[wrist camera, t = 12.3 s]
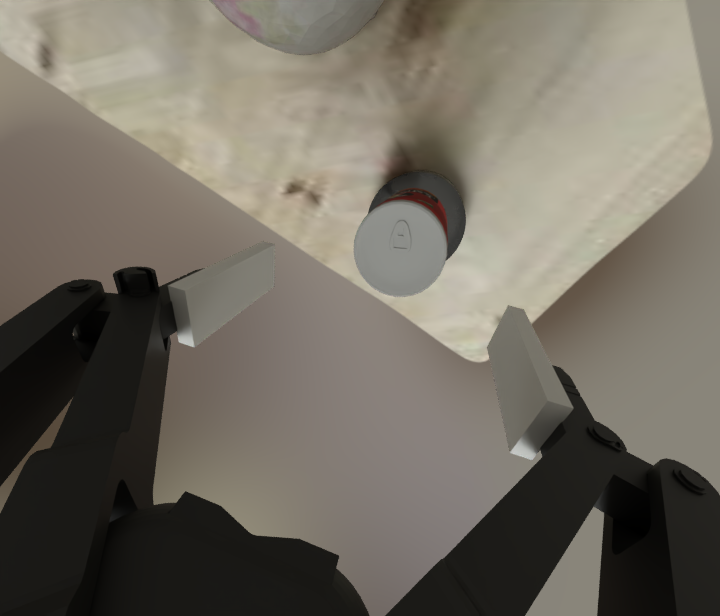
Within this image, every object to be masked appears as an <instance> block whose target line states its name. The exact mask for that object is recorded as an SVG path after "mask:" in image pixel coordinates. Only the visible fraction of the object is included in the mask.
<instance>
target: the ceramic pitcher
mask: <svg viewBox="0 0 720 616" xmlns="http://www.w3.org/2000/svg"><path fill="white" fill-rule="evenodd" d="M210 1H211V2H212V3H213V5H214V6H215V7H216V8H217V9H218V10H219V11H220V12H221V13H222V14H223V15H224V16H225V17H226V18H227V19H228V20H229V21H230V22H232V23H233V24H234V25H235V26H236V27H238V28H239V29H241V30H242V31H244V32H245V33H247V34H248V35H249V36H251V37H252V38H253V39H255V40H256V41H257V42H260V43H262V44H264V45H266V46H268V47H271V48H274V49H276V50H279V51H282V52H285V53H290V54H297V55H312V54H317V53H322V52H326V51H328V50H331V49H333V48H336V47H338V46H339V45H341V44H343V43H344V42H346V41H347V40H349V39H350V38H352V37H353V36H354V35H355V34H356V33H357V32H358V31H360V30H361V29H362V28H363V27H364V26H365V24H366V23H367V22H368V21H369V20H371V19H373V18H374V17H375V15H376V13H377V11H378V9H379V7H380V6H381V5H382V3H383V1H384V0H210Z"/></svg>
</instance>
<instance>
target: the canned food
mask: <svg viewBox="0 0 720 616" xmlns="http://www.w3.org/2000/svg"><path fill="white" fill-rule="evenodd" d="M447 248H448V232H447V217H446V213H445V210H444V207H443V205H442V204H441V202H440V201H439V200H438V199H437V197H436V196H435V195H433V194H432V193H430V192H429V191H426V190H423V189H419V188H407V189H404V190H401V191H399V192H397V193H395V194H394V195H392V196H391V197H389V198H388V199H386V200H385V201H383V202H382V203H381V204H379V205H378V206H377V207H375V208H374V209H373V210H372V211H371V212H370V213H368V214H367V216H366V217H365V218H364V220H363V221H362V223H361V224H360V226H359V228H358V230H357V233H356V237H355V240H354V257H355V261H356V265H357V268H358V270H359V272H360V274H361V275H362V277H363V278H364V279H365V281H366V282H367V283H368V284H369V285H370V286H371V287H373V288H374V289H376V290H377V291H379V292H381V293H383V294H386V295H390V296H394V297H406V296H412V295H415V294H418V293H420V292H422V291H424V290H425V289H427V288H428V287H429V286H430V285H432V284H433V283H434V282H435V280H436V279H437V278H438V276H439V275H440V273H441V271H442V269H443V267H444V265H445V261H446V257H447Z"/></svg>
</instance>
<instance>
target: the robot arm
mask: <svg viewBox="0 0 720 616" xmlns="http://www.w3.org/2000/svg"><path fill="white" fill-rule="evenodd" d="M274 269H275V245H274V244H272V243H268V242H264V241H262V242H260V243H258V244H256V245H254V246H252V247H249V248H247V249H245V250H243V251H241V252H239V253H237V254H234V255H232V256H230V257H228V258H226V259H224V260H222V261H219V262H217V263H215V264H213V265H211V266H209V267H207V268H204V269H199V270H195V271H193V272H191V273H188V274H187V275H184V276H182V277H180V279H175V280H173V281H171V282H169V283H167V284H165V285H162V286H160V287H159V286H158V282H157V277H156V273H155V270H153V269H151V268H148V267H128V268H124V269H121V270H118V271H116V272H115V273H114V274H113V277H114V280H115V284H116V287H117V290H118V294H115V293H105V292H104V289H103V286H102V284H101V282H99V281H96V280H84V279H80V280H73V281H71V282H68V283H64V284H62V285H60V286H58V287H57V288H55V289H54V290H52V291H51V292H50V293H48V294H46V295H45V296H44V297H42V298H41V299H39V300H38V301H36V302H35V303H33V304H32V305H30V306H29V307H27V308H26V309H25V310H23V311H22V312H20V313H19V314H17V315H16V316H14V317H13V318H12V319H10V320H8V321H7V322H6V323H4V324H3V325H1V326H0V486H1V485H2V484H3V483H4V481H5V480H6V479H7V478H8V476H9V475H10V474H11V473H12V471H13V470H14V469H15V468H16V467H17V465H18V464H19V463H20V461H21V460H22V459H23V458H24V457H25V455H26V454H27V453H28V452H29V451H30V449H31V448H32V447H33V446H34V444H35V443H36V442H37V441H38V439H39V438H40V437H41V436H42V434H43V433H44V432H45V431H46V430H47V428H48V427H49V426H50V425H51V423H52V422H53V421H54V420H55V419H56V417H57V416H58V415H59V413H60V412H61V411H62V410H63V409H64V407H65V406H66V405H67V404H68V402H69V401H70V400H71V399H72V398H73V399H72V401H71V404H70V406H69V408H68V411H67V413H66V415H65V418H64V420H63V422H62V424H61V427H60V429H59V431H58V433H57V436H56V438H55V440H54V443H53V445H52V446H51V448H49V449H44V450H40V451H36V452H35V453H34V454H32V455H31V456H30V457H29V459H28V460H27V462H26V463H25V465H24V467H23V469H22V471H21V473H20V475H19V477H18V479H17V481H16V483H15V485H14V487H13V489H12V491H11V493H10V495H9V497H8V499H7V501H6V503H5V505H4V507H3V509H2V511H1V513H0V616H369V613H368V611H367V609H366V607H365V605H364V603H363V601H362V599H361V597H360V596H359V594H358V593H357V591H356V590H355V588H354V586H353V585H352V584H351V583H350V582H349V580H348V579H347V578H346V577H345V576H344V575H343V574H342V573H341V572H340V571H339V570H337V569H336V566H337V562H338V559H339V556H338V555H336V554H334V553H331V552H329V551H327V550H324V549H322V548H320V547H317V546H315V545H312V544H310V543H308V542H305V541H303V540H301V539H293V538H279V537H267V536H256V535H252V534H251V533H249V532H248V531H247V530H246V529H245V528H244V527H243V526H242V525H241V524H240V523H238V522H237V521H236V520H235V519H234V518H233V517H232V516H231V515H230V514H229V513H228V512H227V511H225V510H224V509H223V508H222V507H221V506H219V505H217V504H215V503H212V502H210V501H208V500H205V499H203V498H200V497H198V496H195V495H193V494H191V493H188V492H185V493H184V494H183V495H182V496H181V498H180V499H179V500H178V502H177V503H164V504H158V505H154V504H153V484H154V476H155V467H156V458H157V451H158V443H159V434H160V426H161V419H162V411H163V402H164V394H165V386H166V378H167V370H168V362H169V353H170V345H171V341H170V335H171V334H173V333H175V332H176V331H177V335H178V339H179V342H180V343H183V344H186V345H189V346H192V347H196V346H197V345H198V344H200V343H201V342H202V341H203V340H205V339H206V338H207V337H209V336H210V335H211V334H213V333H214V332H215V331H216V330H218V329H219V328H220V327H222V326H223V325H224V324H226V323H227V322H228V321H230V320H231V319H232V318H234V317H235V316H236V315H238V314H239V313H240V312H242V311H243V310H244V309H245V308H247V307H248V306H249V305H251V304H252V303H253V302H255V301H256V300H257V299H259V298H260V297H261V296H263V295H264V294H265V293H266V292H268V291H269V290H270V289H272V288H273V287H274V272H275V270H274ZM73 333H74V336H73ZM487 349H488V354H489V358H490V363H491V368H492V372H493V377H494V382H495V386H496V391H497V395H498V400H499V405H500V409H501V414H502V419H503V423H504V428H505V432H506V437H507V442H508V447H509V451H510V453H512V454H515V455H518V456H521V457H524V458H527V459H530V460H532V459H533V458H534V457H535V455H536V454H537V453H538V452H539V451H540V450H541V454H542V458H541V459H540V460H539V461H538V462H537V463H536V464H535V465H534V466H533V467H532V468H531V469H530V470H529V471H528V473H527V474H526V475H525V476H524V477H523V478H522V479H521V480H520V481H519V482H518V483H517V484H516V485H515V486H514V487H513V488H512V489H511V490H510V491H509V492H508V493H507V494H506V495H505V496H504V497H503V499H501V500H500V501H499V503H497V504H496V505H495V507H494V508H493V509H492V510H491V511H490V512H489V513H488V514H487V515H486V516H485V517H484V518H483V519H482V520H481V521H480V522H479V523H478V524H477V525H476V526H475V527H474V528H473V529H472V530H471V531H470V532H469V533H468V534H467V535H466V536H465V537H464V538H463V539H462V540H461V542H460V543H458V544H457V546H456V547H455V548H454V549H453V550H452V551H451V552H450V553H449V554H448V555H447V556H446V557H445V558H443V559H441V560H440V561H439V562H438V563H437V564H436V565H435V566H434V567H433V568H432V569H431V570H430V571H429V572H428V573H427V574H426V575H425V576H424V577H423V578H422V579H421V580H420V581H419V582H418V583H417V584H416V585H415V586H414V587H413V588H412V589H411V590H410V591H409V592H408V593H407V594H406V595H405V596H404V597H403V598H402V599H401V600H400V601H399V602H398V604H396V605H395V606H394V607H393V608H392V609H391V610H390V612H389V613H388V614H387V615H386V616H525V615H526V613H527V611H528V610H529V608H530V607H531V605H532V603H533V602H534V600H535V599H536V597H537V596H538V594H539V592H540V591H541V589H542V588H543V586H544V584H545V582H546V581H547V579H548V578H549V576H550V575H551V573H552V572H553V570H554V569H555V567H556V565H557V563H558V562H559V560H560V559H561V557H562V556H563V554H564V553H565V551H566V549H567V548H568V546H569V545H570V543H571V541H572V540H573V538H574V537H575V535H576V533H577V532H578V530H579V529H580V527H581V525H582V524H583V522H584V521H585V519H586V517H587V516H588V514H589V513H590V511H591V510H592V508H593V506H594V507H596V508H597V509H599V510H600V511H602V512H604V527H603V541H602V542H603V543H602V555H601V570H600V584H599V599H598V613H597V616H720V495H719V493H718V492H717V491H716V490H715V488H714V487H713V486H712V485H711V484H710V483H709V482H708V481H707V480H706V479H705V478H704V477H702V476H701V475H700V474H699V473H698V472H696V471H694V470H692V469H691V468H689V467H688V466H686V465H684V464H682V463H679V462H677V461H675V460H671V459H662V460H660V461H659V462H657V463H656V464H655V465H654V466H653V465H651V464H649V463H647V462H645V461H643V460H641V459H640V458H637V457H636V456H634V455H632V454H630V453H628V452H626V450H627V449H626V447H625V445H624V443H623V441H622V440H621V439H620V438H619V437H618V436H617V435H616V434H615V433H614V432H613V431H611V430H610V429H609V428H608V427H606V426H604V425H602V424H600V423H599V422H596V421H595V420H594V418H593V417H592V415H591V413H590V411H589V409H588V408H587V406H586V404H585V402H584V401H583V399H582V397H580V393H579V392H578V390H577V389H576V386H575V385H574V383H573V381H572V379H571V378H570V376H569V375H567V374H566V373H565V372H564V371H563V370H562V369H561V368H559V367H556V366H553V365H551V363H550V361H549V359H548V357H547V355H546V353H545V351H544V349H543V347H542V345H541V343H540V341H539V339H538V337H537V335H536V333H535V331H534V329H533V327H532V325H531V323H530V321H529V319H528V317H527V315H526V313H525V311H524V309H520V308H516V307H512V306H509V305H508V307H507V309H506V311H505V313H504V315H503V317H502V319H501V321H500V323H499V325H498V327H497V329H496V331H495V333H494V335H493V337H492V339H491V341H490V343H489V345H488V347H487ZM73 396H74V397H73Z"/></svg>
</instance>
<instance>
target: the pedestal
mask: <svg viewBox="0 0 720 616" xmlns="http://www.w3.org/2000/svg"><path fill="white" fill-rule="evenodd" d="M407 188H419V189H423V190H426V191H429V192H430V193H432V194H433V195H435V196H436V197H437V199H438V200H439V201H440V202H441V204H442V205H443V207H444V210H445V213H446V217H447V232H448V248H447V257H446V260H447V259H448V258H449V257H450V256H451V255H452V254H453V253H454V252H455V251H456V249H457V248H458V246H459V244H460V242H461V240H462V238H463V234H464V231H465V224H466V217H465V210H464V206H463V203H462V200H461V197H460V195H459V193H458V191H457V189H456V188H455V186H454V185H453V184H452V183H451V182H450V181H449V180H448V179H446V178H445V177H443V176H442V175H440V174H437V173H435V172H431V171H425V170H421V171H412V172H409V173H406V174H403V175H401V176H398V177H396V178H394V179H392V180H391V181H389V182H388V183H387V184H386V185H384V186H383V187H382V188H381V189H380V190H379V192H378V193H377V194H376V196H375V197H374V199H373V201H372V203H371V206H370V208H369V212H368V213H370V212H371V211H372V210H373V209H374V208H375V207H377V206H378V205H379V204H381V203H382V202H383V201H385V200H386V199H388V198H389V197H391V196H392V195H394V194H395V193H397V192H399V191H401V190H404V189H407Z"/></svg>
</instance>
